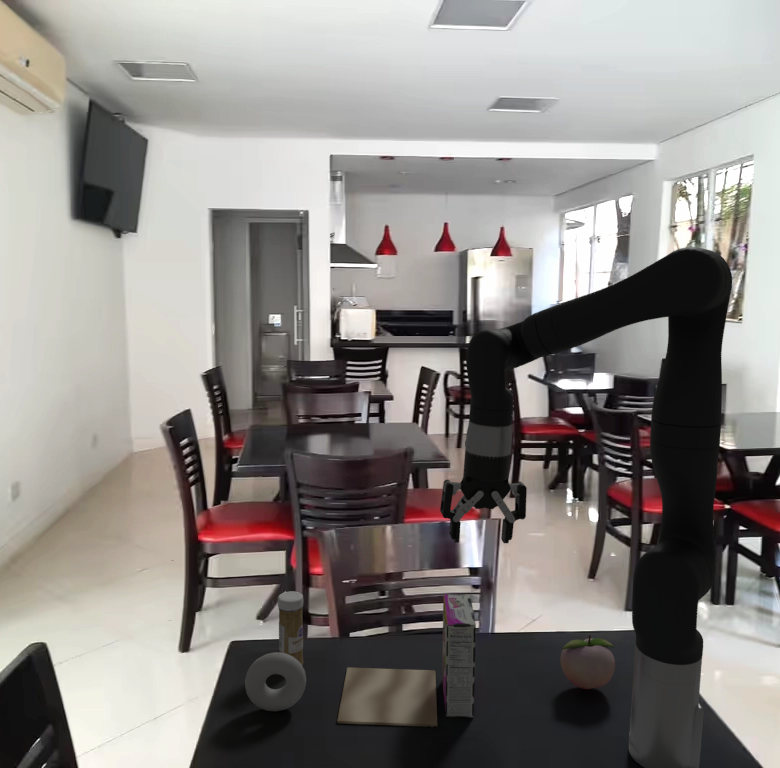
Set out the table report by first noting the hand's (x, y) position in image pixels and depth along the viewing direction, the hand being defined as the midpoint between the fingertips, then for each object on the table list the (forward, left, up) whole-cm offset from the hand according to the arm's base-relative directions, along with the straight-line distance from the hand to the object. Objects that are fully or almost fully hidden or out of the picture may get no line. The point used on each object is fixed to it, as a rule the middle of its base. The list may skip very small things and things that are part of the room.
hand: (480, 541), depth 122 cm
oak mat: (+15, +4, -27) cm, 31 cm away
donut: (+34, +9, -27) cm, 44 cm away
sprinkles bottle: (+34, -5, -27) cm, 43 cm away
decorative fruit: (-19, 0, -27) cm, 33 cm away
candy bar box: (+4, +4, -27) cm, 27 cm away
